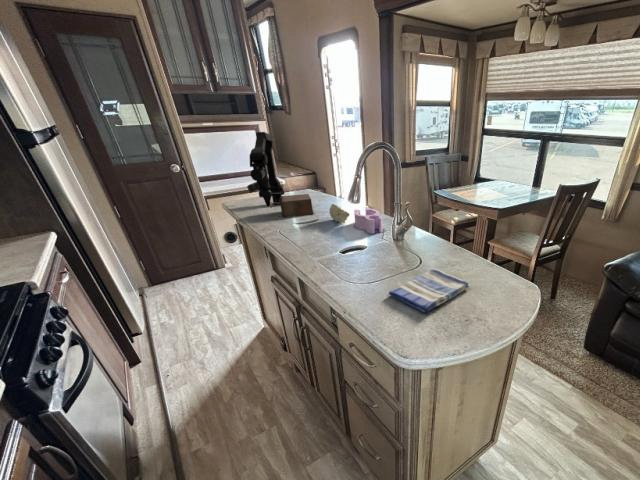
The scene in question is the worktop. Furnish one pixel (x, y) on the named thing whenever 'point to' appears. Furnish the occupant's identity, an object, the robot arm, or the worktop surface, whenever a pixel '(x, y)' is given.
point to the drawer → (278, 205)
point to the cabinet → (297, 205)
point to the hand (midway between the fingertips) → (268, 206)
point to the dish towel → (429, 290)
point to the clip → (369, 220)
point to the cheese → (338, 214)
